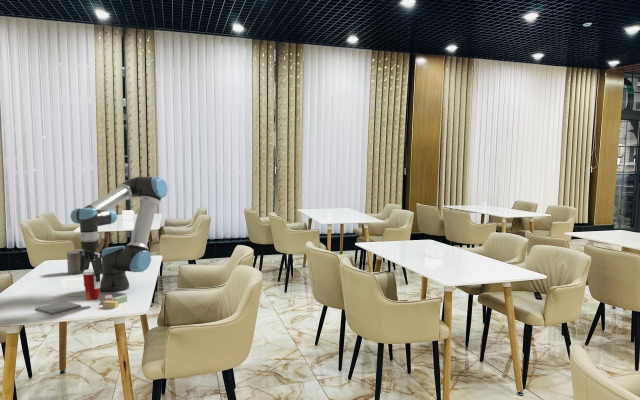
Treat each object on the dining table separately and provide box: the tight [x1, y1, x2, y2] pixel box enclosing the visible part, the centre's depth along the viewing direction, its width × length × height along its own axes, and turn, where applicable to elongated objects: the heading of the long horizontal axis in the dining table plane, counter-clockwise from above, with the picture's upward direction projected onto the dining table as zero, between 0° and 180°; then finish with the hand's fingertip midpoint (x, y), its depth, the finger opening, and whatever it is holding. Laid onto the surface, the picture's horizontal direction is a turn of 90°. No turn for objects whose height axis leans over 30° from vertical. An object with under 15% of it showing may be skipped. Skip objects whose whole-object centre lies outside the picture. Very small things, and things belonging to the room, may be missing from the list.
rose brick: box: [104, 294, 113, 301], centre depth 234 cm, size 6×3×3 cm, turn 22°
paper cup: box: [81, 268, 100, 301], centre depth 226 cm, size 8×8×14 cm
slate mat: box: [34, 300, 82, 316], centre depth 224 cm, size 14×14×1 cm
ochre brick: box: [102, 300, 119, 309], centre depth 226 cm, size 6×3×3 cm, turn 82°
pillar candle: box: [66, 249, 84, 275], centre depth 295 cm, size 10×10×15 cm
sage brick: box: [112, 294, 128, 305], centre depth 233 cm, size 6×3×3 cm, turn 150°
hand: (92, 286), depth 226 cm, fingers closed on paper cup, 8 cm apart
